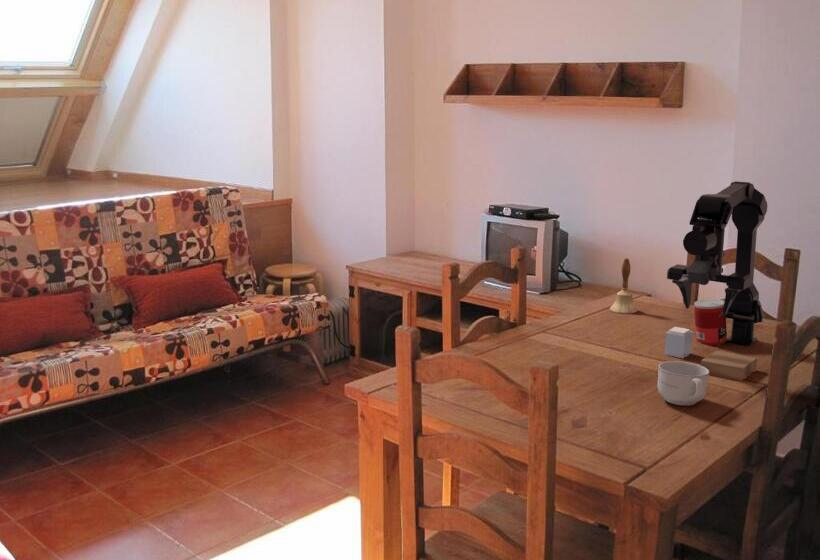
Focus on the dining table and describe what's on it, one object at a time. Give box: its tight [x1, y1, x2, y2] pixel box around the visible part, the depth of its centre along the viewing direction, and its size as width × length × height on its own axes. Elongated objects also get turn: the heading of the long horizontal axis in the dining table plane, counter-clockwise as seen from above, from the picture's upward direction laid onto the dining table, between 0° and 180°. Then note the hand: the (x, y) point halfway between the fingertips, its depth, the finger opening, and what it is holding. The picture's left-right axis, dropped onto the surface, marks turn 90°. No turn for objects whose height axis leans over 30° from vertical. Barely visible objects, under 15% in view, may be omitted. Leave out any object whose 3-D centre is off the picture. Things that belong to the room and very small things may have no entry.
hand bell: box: [609, 258, 639, 315], centre depth 273 cm, size 8×8×16 cm
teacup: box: [656, 360, 710, 406], centre depth 200 cm, size 14×11×8 cm
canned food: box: [693, 298, 728, 346], centre depth 243 cm, size 8×8×11 cm
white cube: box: [664, 326, 693, 359], centre depth 233 cm, size 5×5×7 cm
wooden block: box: [700, 349, 758, 382], centre depth 221 cm, size 10×10×4 cm
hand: (705, 311), depth 219 cm, fingers open, 9 cm apart
